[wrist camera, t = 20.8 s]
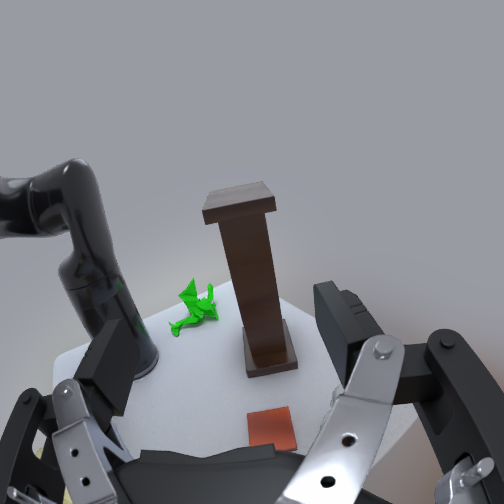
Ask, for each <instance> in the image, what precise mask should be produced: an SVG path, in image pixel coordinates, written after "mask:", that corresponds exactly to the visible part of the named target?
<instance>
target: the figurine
mask: <svg viewBox="0 0 504 504" xmlns="http://www.w3.org/2000/svg"><path fill="white" fill-rule="evenodd" d="M179 297H180V298H181V299H182V300H183V301H184V303H185V304H186V306H187V308H188V309H189V312H190V313H191V314H192V315H191V316H190V317H188V318H186V319H183V320H181V321H179V322H176V324H175V326H174V325H173V324H171V323H170V322H169V324H170V325H171V327H172V328H171V329H172V330H171V331H172V332H173V333H174V335H175V336H178V331H179V329H180V328H181V327H182V325H185V324H194V323H197V322H199V321H200V320H201V321H203V320H202V318H203V317H204V315H200V314H206V315H208V316H209V317H214V316H215V317H216V319H217V320H218V315H217V313H216V311H215V309H214V308H215V306H216V305H215V303H213V304H211V302H212V300H213V287H212V285H211V284H210V283H209V285H208V299H205V297H204V298H202V300H201V301H200V298H199V300H198V298H197V292H196V287H195V283H194V278H193V279H192V281H191V282H190V284H189V285H188V287H187V288H186V290H185V291H183V292H182V293H181V294H180V295H179Z"/></svg>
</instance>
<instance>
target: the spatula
mask: <svg viewBox="0 0 504 504" xmlns="http://www.w3.org/2000/svg"><path fill="white" fill-rule="evenodd" d="M247 419H248V431H249V443H250V446H257V445H264V444H270V443H274V445H275V448H276V451H286V452H287V451H293V450H297V445H296V441H295V436H294V431H293V426H292V422H291V417H290V412H289V407H288V406H287V407H282V408H277V409H271V410H266V411H260V412H253V413H247Z"/></svg>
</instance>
